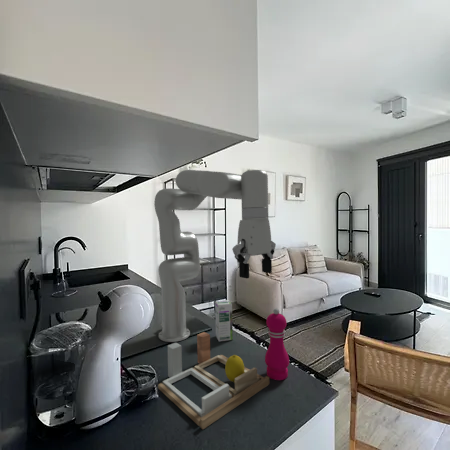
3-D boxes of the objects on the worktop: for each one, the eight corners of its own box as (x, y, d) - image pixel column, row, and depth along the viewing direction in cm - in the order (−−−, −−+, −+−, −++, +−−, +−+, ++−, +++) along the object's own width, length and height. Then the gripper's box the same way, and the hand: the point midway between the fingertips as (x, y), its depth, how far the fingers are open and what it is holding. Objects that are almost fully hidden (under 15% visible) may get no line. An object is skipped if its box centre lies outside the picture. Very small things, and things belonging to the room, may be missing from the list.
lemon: (228, 390, 73) (228, 361, 73) (223, 378, 79) (222, 352, 79) (247, 386, 75) (246, 358, 75) (241, 375, 80) (240, 349, 80)
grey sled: (157, 380, 78) (156, 349, 78) (186, 367, 85) (185, 338, 84) (201, 419, 62) (200, 380, 62) (232, 399, 69) (231, 364, 69)
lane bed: (158, 388, 75) (158, 381, 75) (221, 358, 91) (221, 352, 91) (202, 429, 60) (202, 420, 60) (269, 384, 76) (269, 377, 76)
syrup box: (218, 342, 103) (217, 304, 103) (215, 335, 108) (214, 300, 108) (232, 340, 104) (232, 303, 104) (229, 334, 110) (228, 299, 110)
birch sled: (188, 366, 85) (188, 337, 85) (212, 355, 92) (212, 328, 92) (234, 397, 70) (234, 362, 70) (259, 381, 76) (259, 349, 76)
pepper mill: (265, 367, 85) (264, 304, 84) (288, 368, 83) (287, 305, 83) (265, 380, 77) (263, 312, 77) (290, 382, 76) (289, 313, 76)
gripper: (264, 215, 84) (265, 269, 84) (223, 215, 72) (224, 277, 73) (284, 214, 79) (284, 272, 79) (243, 214, 67) (244, 282, 67)
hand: (256, 274), depth 76 cm, fingers open, 9 cm apart
